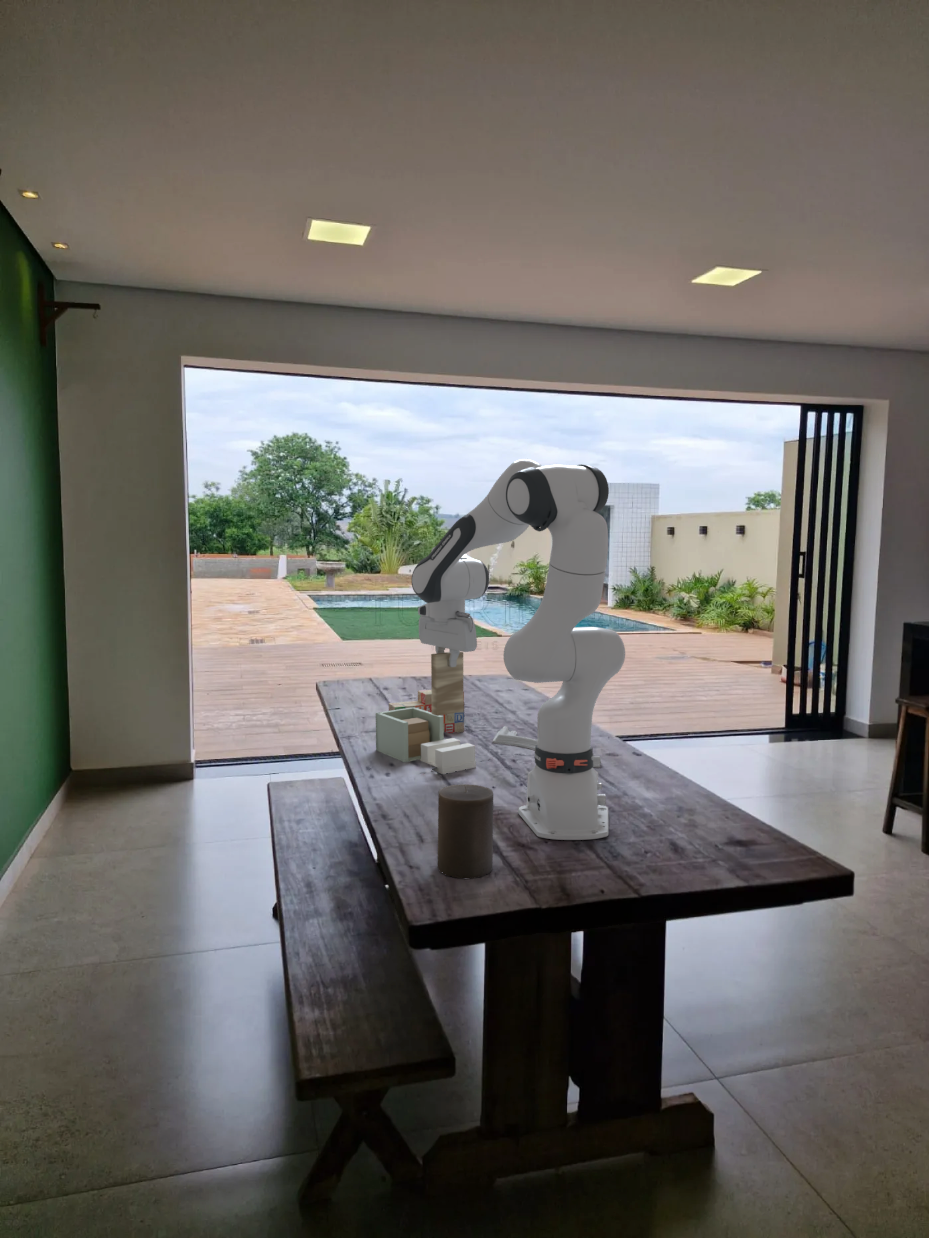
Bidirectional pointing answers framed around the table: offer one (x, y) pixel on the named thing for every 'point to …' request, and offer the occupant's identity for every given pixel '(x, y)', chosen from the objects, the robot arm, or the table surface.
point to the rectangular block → (446, 684)
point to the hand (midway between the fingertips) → (447, 665)
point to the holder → (448, 755)
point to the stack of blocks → (451, 721)
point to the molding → (524, 742)
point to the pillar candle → (465, 831)
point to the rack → (407, 732)
